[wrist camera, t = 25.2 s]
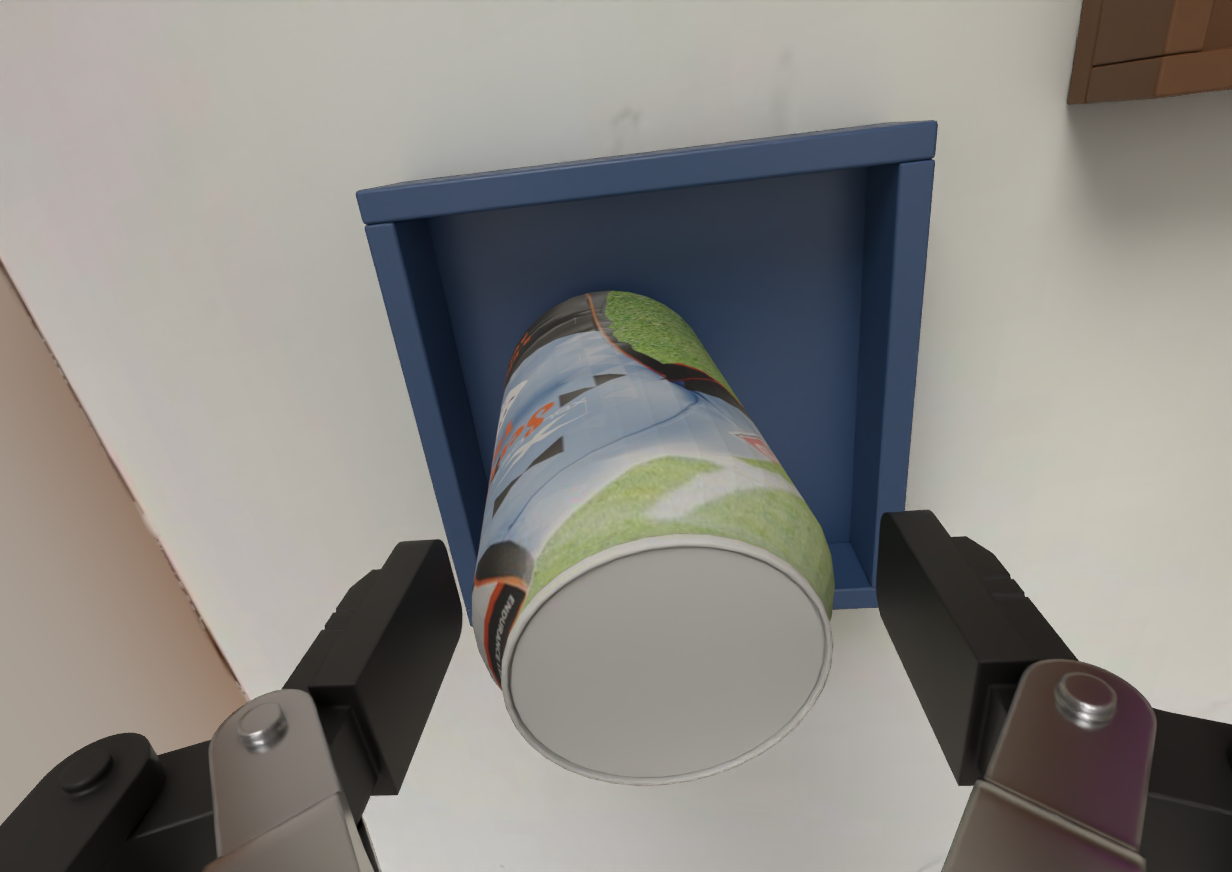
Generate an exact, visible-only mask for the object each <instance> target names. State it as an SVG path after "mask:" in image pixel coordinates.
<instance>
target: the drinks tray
mask: <svg viewBox="0 0 1232 872" xmlns="http://www.w3.org/2000/svg"><path fill="white" fill-rule="evenodd" d="M937 127H938V124H937V121H934V120H932V121H912V122H890V123H881V124H873V125H865V126H857V127H848V128H840V129H832V130H824V131H816V132H808V133H799V134H791V135H783V136H775V137H767V138H759V139H750V140H742V141H734V142H726V143H718V144H710V145H701V146H693V147H685V148H677V149H669V150H661V151H652V152H644V153H636V154H628V155H620V156H612V157H603V158H595V159H587V160H579V161H571V162H563V163H554V164H546V165H538V166H530V167H522V168H514V169H505V170H497V171H489V172H481V173H473V174H465V175H456V176H448V177H440V178H432V179H424V180H416V181H407V182H401V183H396V184H391V185H385V186H380V187H375V188H369V189H364V190H359V191H357V192H356V198H357V201H358V205H359V209H360V213H361V216H362V220H363V222H364V224H367V225H366V226H365V232H366V236H367V239H368V243H369V247H370V251H371V254H372V258H373V262H374V266H375V269H376V273H377V277H378V281H379V284H380V288H381V292H382V296H383V300H384V303H385V307H386V311H387V315H388V318H389V322H390V326H391V330H392V333H393V337H394V341H395V345H396V348H397V352H398V356H399V360H400V363H401V367H402V371H403V375H404V378H405V382H406V386H407V390H408V393H409V397H410V401H411V405H412V408H413V412H414V416H415V420H416V423H417V427H418V431H419V435H420V438H421V442H422V446H423V450H424V453H425V457H426V461H427V465H428V468H429V472H430V476H431V480H432V483H433V487H434V491H435V495H436V498H437V502H438V506H439V510H440V513H441V517H442V521H443V525H444V528H445V532H446V536H447V540H448V543H449V547H450V551H451V555H452V559H453V562H454V566H455V570H456V574H457V577H458V581H459V585H460V589H461V592H462V596H463V600H464V604H465V607H466V611H467V615H468V618H469V622H470V626H471V627H473V624H472V588H473V582H474V576H475V569H476V563H477V557H478V550H479V544H480V538H481V531H482V525H483V519H484V512H485V506H486V500H487V493H488V487H489V481H490V474H491V468H492V462H493V455H494V449H495V443H496V436H497V430H498V424H499V418H500V411H501V405H502V399H503V392H504V386H505V380H506V375H507V370H508V366H509V361H510V359H511V357H512V354H513V352H514V350H515V347H516V345H517V344H518V342H519V341H520V339H521V338H522V336H523V335H524V333H525V332H526V330H527V329H528V328H529V327H530V326H531V325H532V324H533V323H534V322H535V321H536V320H537V319H538V318H539V317H540V316H541V315H543V314H544V313H546V312H547V311H548V310H550V309H551V308H553V307H554V306H556V305H558V304H560V303H562V302H564V301H566V300H568V299H570V298H573V297H576V296H580V295H583V294H587V293H591V292H600V291H623V292H631V293H635V294H639V295H643V296H647V297H649V298H651V299H653V300H656V301H658V302H660V303H662V304H664V305H666V306H667V307H669V308H670V309H671V310H673V311H674V312H676V313H677V314H678V315H680V316H681V317H682V318H683V320H684V321H685V322H686V323H687V324H688V325H689V326H690V327H691V328H692V329H693V331H694V332H695V334H696V336H697V337H698V339H699V340H700V342H701V343H702V345H703V346H704V348H705V349H706V351H707V352H708V354H709V355H710V357H711V358H712V360H713V362H714V363H715V365H716V366H717V368H718V369H719V371H720V372H721V374H722V375H723V377H724V378H725V380H726V381H727V383H728V385H729V386H730V388H731V389H732V391H733V392H734V394H735V395H736V397H737V398H738V400H739V401H740V403H741V404H742V406H743V407H744V409H745V411H746V412H747V414H748V415H749V417H750V418H751V420H752V421H753V423H754V424H755V426H756V427H757V429H758V430H759V432H760V434H761V435H762V437H763V438H764V440H765V441H766V443H767V444H768V446H769V447H770V449H771V450H772V452H773V453H774V455H775V456H776V458H777V460H778V461H779V463H780V464H781V466H782V467H783V469H784V470H785V472H786V473H787V475H788V476H789V478H790V479H791V481H792V483H793V484H794V486H795V487H796V489H797V490H798V492H799V493H800V495H801V496H802V498H803V499H804V501H805V502H806V504H807V505H808V507H809V509H810V510H811V512H812V513H813V515H814V516H815V518H816V519H817V521H818V522H819V524H820V526H821V528H822V530H823V533H824V536H825V539H826V541H827V544H828V547H829V550H830V552H831V556H832V564H833V573H834V581H835V590H834V600H833V609H832V610H836V609H857V608H878V602H877V596H876V574H877V560H878V546H879V531H880V521H881V517H882V515H883V513H885V512H899V511H904V510H905V499H906V488H907V476H908V465H909V453H910V442H911V430H912V419H913V407H914V396H915V384H916V373H917V362H918V350H919V339H920V327H921V316H922V304H923V293H924V281H925V270H926V258H927V247H928V236H929V224H930V213H931V201H932V190H933V178H934V167H935V161H934V160H932V158H934V156H935V150H936V139H937Z"/></svg>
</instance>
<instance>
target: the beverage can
mask: <svg viewBox="0 0 1232 872" xmlns="http://www.w3.org/2000/svg"><path fill="white" fill-rule="evenodd" d="M834 590H835V581H834V573H833V564H832V556H831V552H830V550H829V547H828V544H827V541H826V539H825V536H824V533H823V530H822V528H821V526H820V524H819V522H818V521H817V519H816V518H815V516H814V515H813V513H812V512H811V510H810V509H809V507H808V505H807V504H806V502H805V501H804V499H803V498H802V496H801V495H800V493H799V492H798V490H797V489H796V487H795V486H794V484H793V483H792V481H791V479H790V478H789V476H788V475H787V473H786V472H785V470H784V469H783V467H782V466H781V464H780V463H779V461H778V460H777V458H776V456H775V455H774V453H773V452H772V450H771V449H770V447H769V446H768V444H767V443H766V441H765V440H764V438H763V437H762V435H761V434H760V432H759V430H758V429H757V427H756V426H755V424H754V423H753V421H752V420H751V418H750V417H749V415H748V414H747V412H746V411H745V409H744V407H743V406H742V404H741V403H740V401H739V400H738V398H737V397H736V395H735V394H734V392H733V391H732V389H731V388H730V386H729V385H728V383H727V381H726V380H725V378H724V377H723V375H722V374H721V372H720V371H719V369H718V368H717V366H716V365H715V363H714V362H713V360H712V358H711V357H710V355H709V354H708V352H707V351H706V349H705V348H704V346H703V345H702V343H701V342H700V340H699V339H698V337H697V336H696V334H695V332H694V331H693V329H692V328H691V327H690V326H689V325H688V324H687V323H686V322H685V321H684V320H683V318H682V317H681V316H680V315H678V314H677V313H676V312H674V311H673V310H671V309H670V308H669V307H667V306H666V305H664V304H662V303H660V302H658V301H656V300H653V299H651V298H649V297H647V296H643V295H639V294H635V293H631V292H623V291H600V292H591V293H587V294H583V295H580V296H576V297H573V298H570V299H568V300H566V301H564V302H562V303H560V304H558V305H556V306H554V307H553V308H551V309H550V310H548V311H547V312H546V313H544V314H543V315H541V316H540V317H539V318H538V319H537V320H536V321H535V322H534V323H533V324H532V325H531V326H530V327H529V328H528V329H527V330H526V332H525V333H524V335H523V336H522V338H521V339H520V341H519V342H518V344H517V345H516V347H515V350H514V352H513V354H512V357H511V359H510V361H509V366H508V370H507V375H506V380H505V386H504V392H503V399H502V405H501V411H500V418H499V424H498V430H497V436H496V443H495V449H494V455H493V462H492V468H491V474H490V481H489V487H488V493H487V500H486V506H485V512H484V519H483V525H482V531H481V538H480V544H479V550H478V557H477V563H476V569H475V576H474V582H473V588H472V624H473V628H474V633H475V637H476V641H477V645H478V649H479V652H480V654H481V656H482V659H483V661H484V663H485V665H486V667H487V669H488V671H489V673H490V675H491V677H492V678H493V680H494V681H495V683H496V684H497V685H498V687H499V688H500V689H501V690H502V692H503V696H504V701H505V705H506V709H507V711H508V713H509V715H510V717H511V719H512V721H513V723H514V725H515V727H516V728H517V730H518V731H519V732H520V733H521V735H522V736H523V737H524V738H525V739H526V741H527V742H528V743H529V744H530V745H531V746H532V747H533V748H535V749H536V750H537V751H538V752H539V753H541V754H542V755H543V756H544V757H545V758H547V759H549V760H550V761H552V762H554V763H556V764H557V765H559V766H561V767H563V768H564V769H566V770H569V771H572V772H574V773H577V774H580V775H582V776H585V777H588V778H591V779H596V780H600V781H605V782H609V783H615V784H626V785H637V786H641V785H666V784H674V783H681V782H688V781H692V780H696V779H700V778H704V777H708V776H712V775H715V774H718V773H721V772H723V771H726V770H729V769H731V768H734V767H737V766H739V765H741V764H743V763H745V762H747V761H748V760H750V759H752V758H754V757H756V756H758V755H760V754H762V753H763V752H764V751H766V750H767V749H769V748H770V747H772V746H773V745H775V744H776V743H778V742H779V741H781V740H782V739H783V738H784V737H785V736H786V735H787V734H788V733H789V732H791V731H792V730H793V729H794V728H795V727H796V726H797V725H798V724H799V723H800V722H801V721H802V719H803V718H804V717H805V716H806V715H807V713H808V712H809V711H810V710H811V708H812V707H813V706H814V704H815V702H816V700H817V699H818V697H819V695H820V693H821V692H822V690H823V688H824V686H825V683H826V680H827V677H828V674H829V671H830V668H831V662H832V653H833V639H832V631H831V624H830V620H831V616H832V609H833V600H834Z"/></svg>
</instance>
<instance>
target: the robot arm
mask: <svg viewBox="0 0 1232 872" xmlns="http://www.w3.org/2000/svg"><path fill="white" fill-rule="evenodd" d="M876 596H877V602H878V607H879V611H880V615H881V618H882V620H883V623H884V625H885V627H886V629H887V631H888V633H889V636H890V638H891V640H892V642H893V644H894V646H895V649H896V651H897V653H898V655H899V657H900V660H901V662H902V664H903V666H904V668H905V670H906V673H907V675H908V677H909V679H910V681H911V683H912V686H913V688H914V690H915V692H916V694H917V696H918V699H919V701H920V703H921V705H922V707H923V710H924V712H925V714H926V716H927V718H928V720H929V723H930V725H931V727H932V729H933V731H934V733H935V736H936V738H937V740H938V742H939V744H940V746H941V749H942V751H943V753H944V755H945V757H946V760H947V762H948V764H949V766H950V768H951V770H952V773H953V775H954V777H955V779H956V781H957V783H958V786H974V787H973V789H972V792H971V794H970V797H969V800H968V802H967V805H966V808H965V810H964V813H963V816H962V818H961V821H960V823H959V826H958V829H957V831H956V834H955V837H954V839H953V842H952V845H951V847H950V850H949V853H948V855H947V858H946V860H945V863H944V866H943V868H942V871H941V872H1232V724H1226V723H1221V722H1216V721H1211V720H1206V719H1201V718H1196V717H1191V716H1186V715H1181V714H1176V713H1171V712H1166V711H1162V710H1158V709H1155V708H1152V707H1151V705H1150V703H1149V702H1148V701H1147V700H1146V698H1145V697H1144V696H1143V695H1142V694H1141V693H1140V692H1139V691H1138V690H1137V689H1136V688H1134V687H1133V686H1132V685H1130V684H1129V683H1128V682H1126V681H1125V680H1123V679H1122V678H1120V677H1118V676H1117V675H1115V674H1113V673H1111V672H1109V671H1107V670H1105V669H1102V668H1100V667H1097V666H1094V665H1091V664H1088V663H1084V662H1080V661H1078V659H1077V658H1076V657H1075V656H1074V654H1073V653H1072V652H1071V651H1070V649H1069V648H1068V647H1067V645H1066V644H1065V643H1064V642H1063V640H1062V639H1061V638H1060V637H1059V635H1058V634H1057V633H1056V632H1055V630H1054V629H1053V628H1052V627H1051V625H1050V624H1049V623H1048V622H1047V620H1046V619H1045V618H1044V617H1043V615H1042V614H1041V613H1040V612H1039V610H1038V609H1037V608H1036V607H1035V605H1034V604H1033V603H1032V602H1031V600H1030V599H1029V598H1028V597H1025V595H1024V592H1023V590H1022V589H1021V588H1020V586H1019V585H1018V584H1017V583H1016V581H1015V580H1014V579H1011V578H1010V574H1009V573H1008V571H1007V570H1006V569H1005V568H1004V566H1003V565H1002V564H1001V563H1000V561H999V560H998V559H997V558H996V556H995V555H994V554H993V553H991V552H990V551H988V550H987V549H985V548H984V547H982V546H980V545H979V544H977V543H976V542H974V541H973V540H971V539H970V538H968V537H966V536H964V537H950V535H949V534H948V533H947V531H946V530H945V528H944V527H943V526H942V524H941V523H940V522H939V520H938V519H937V517H936V516H935V515H934V513H933V512H932V511H930V510H915V511H899V512H885V513H883V515H882V517H881V521H880V531H879V546H878V560H877V574H876ZM461 629H462V606H461V602H460V598H459V594H458V590H457V587H456V583H455V579H454V576H453V572H452V568H451V564H450V561H449V557H448V553H447V550H446V547H445V545H444V543H443V542H442V541H441V540H439V539H435V540H420V541H404V542H399V543H398V544H397V545H396V547H395V548H394V550H393V551H392V553H391V554H390V556H389V558H388V559H387V561H386V562H385V564H384V565H383V567H382V569H378V570H372V571H371V572H369V573H368V574H367V575H366V576H364V577H363V578H362V579H361V580H359V581H358V582H357V583H356V584H355V585H353V586H352V587H351V588H350V589H349V590H348V592H347V593H346V595H345V596H344V598H343V599H342V601H341V602H340V604H339V605H338V607H337V608H336V613H333V614H332V616H331V617H330V619H329V620H328V621H327V623H326V624H325V630H321V632H320V633H319V635H318V636H317V638H316V639H315V641H314V642H313V644H312V645H311V647H310V648H309V649H308V651H307V652H306V654H305V655H304V657H303V658H302V660H301V661H300V663H299V664H298V666H297V667H296V669H295V670H294V672H293V673H292V675H291V676H290V678H289V679H288V680H287V682H286V683H285V685H284V686H283V688H282V689H281V690H277V691H273V692H270V693H267V694H264V695H262V696H259V697H257V698H255V699H253V700H251V701H249V702H248V703H246V704H245V705H243V706H242V707H240V708H239V709H237V710H236V711H235V712H233V713H232V714H231V715H230V716H229V717H228V718H227V719H226V720H225V721H224V722H223V723H222V724H221V725H220V726H219V728H218V729H217V731H216V732H215V734H214V735H213V737H212V739H211V740H209V741H205V742H202V743H198V744H195V745H192V746H188V747H185V748H181V749H178V750H175V751H171V752H168V753H164V754H161V755H157V754H156V753H155V751H154V750H153V748H152V746H151V744H150V743H149V741H148V739H146V737H145V736H143V735H141V734H137V733H122V734H116V735H112V736H109V737H106V738H103V739H100V740H98V741H96V742H93V743H91V744H89V745H87V746H85V747H83V748H82V749H80V750H78V751H76V752H75V753H73V754H72V755H70V756H69V757H67V758H66V759H64V760H63V761H62V762H60V763H59V764H58V765H57V766H56V767H54V768H53V769H52V770H51V771H50V772H49V773H48V774H47V775H46V776H45V777H44V778H43V779H42V780H41V781H40V782H39V783H38V784H37V785H36V787H35V788H34V789H33V790H32V791H31V792H30V793H29V794H28V795H27V797H26V798H25V799H24V800H23V801H22V802H21V803H20V804H19V806H18V807H17V808H16V809H15V810H14V811H13V812H12V813H11V815H10V816H9V817H8V818H7V819H6V820H5V821H4V822H3V823H2V825H1V826H0V872H382V871H381V868H380V865H379V862H378V859H377V856H376V853H375V850H374V847H373V843H372V840H371V837H370V834H369V831H368V828H367V825H366V823H365V820H364V818H363V816H362V814H363V812H364V809H365V807H366V805H367V803H368V800H369V798H370V796H378V795H398V793H399V790H400V788H401V785H402V783H403V780H404V778H405V775H406V773H407V770H408V768H409V765H410V762H411V760H412V757H413V755H414V752H415V750H416V747H417V745H418V742H419V740H420V737H421V735H422V732H423V729H424V727H425V724H426V722H427V719H428V717H429V714H430V712H431V709H432V707H433V704H434V702H435V699H436V696H437V694H438V691H439V689H440V686H441V684H442V681H443V679H444V676H445V674H446V671H447V669H448V666H449V663H450V661H451V658H452V656H453V653H454V651H455V648H456V646H457V643H458V641H459V638H460V634H461Z"/></svg>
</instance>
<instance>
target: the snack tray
mask: <svg viewBox="0 0 1232 872" xmlns="http://www.w3.org/2000/svg"><path fill="white" fill-rule="evenodd" d="M1230 89H1232V0H1084V2H1083V8H1082V14H1081V21H1080V27H1079V33H1078V39H1077V45H1076V52H1075V58H1074V64H1073V70H1072V76H1071V83H1070V89H1069V95H1068V101H1067V104H1069V105H1071V104H1085V103H1099V102H1113V101H1127V100H1141V99H1155V98H1164V97H1172V96H1180V95H1188V94H1197V93H1205V92H1213V91H1221V90H1230Z"/></svg>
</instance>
